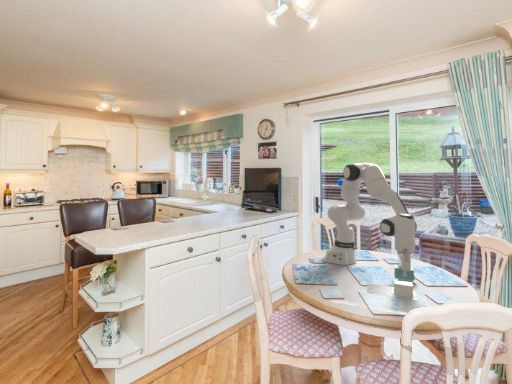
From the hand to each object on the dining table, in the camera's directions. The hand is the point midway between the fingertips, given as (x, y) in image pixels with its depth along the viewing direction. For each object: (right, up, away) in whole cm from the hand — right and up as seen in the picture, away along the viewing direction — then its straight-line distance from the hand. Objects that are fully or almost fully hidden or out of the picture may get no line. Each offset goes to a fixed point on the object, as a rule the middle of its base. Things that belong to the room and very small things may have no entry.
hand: (403, 274), depth 135 cm
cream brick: (0, -10, +1) cm, 10 cm away
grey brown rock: (+9, -10, +15) cm, 20 cm away
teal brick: (0, -2, 0) cm, 2 cm away
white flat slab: (-5, -11, +3) cm, 12 cm away
